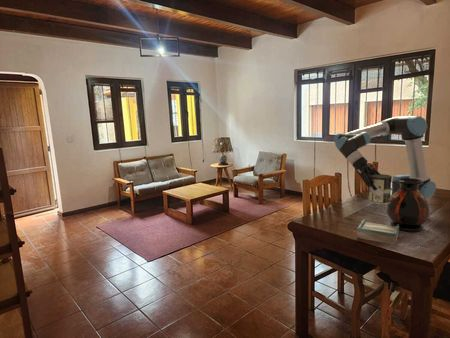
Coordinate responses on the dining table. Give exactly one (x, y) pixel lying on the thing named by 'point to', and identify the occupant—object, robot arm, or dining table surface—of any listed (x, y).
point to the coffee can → (385, 187)
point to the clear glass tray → (378, 232)
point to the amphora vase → (408, 206)
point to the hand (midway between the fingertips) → (385, 192)
